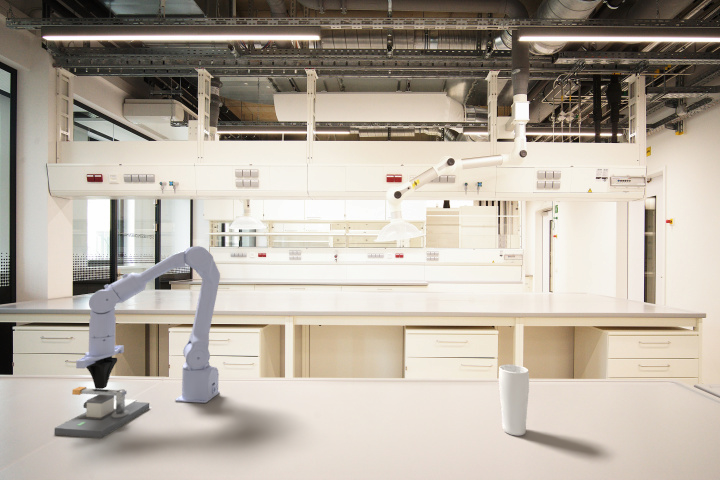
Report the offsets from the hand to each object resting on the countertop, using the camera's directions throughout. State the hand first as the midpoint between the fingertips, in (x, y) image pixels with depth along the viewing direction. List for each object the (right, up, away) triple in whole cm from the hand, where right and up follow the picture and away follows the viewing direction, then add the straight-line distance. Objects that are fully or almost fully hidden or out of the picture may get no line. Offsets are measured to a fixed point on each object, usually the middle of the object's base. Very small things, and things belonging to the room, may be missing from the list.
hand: (100, 387), depth 97 cm
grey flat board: (+4, -7, -4) cm, 9 cm away
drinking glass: (+105, -8, -8) cm, 106 cm away
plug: (+2, -5, -4) cm, 7 cm away
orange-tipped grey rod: (+2, -4, -4) cm, 6 cm away
